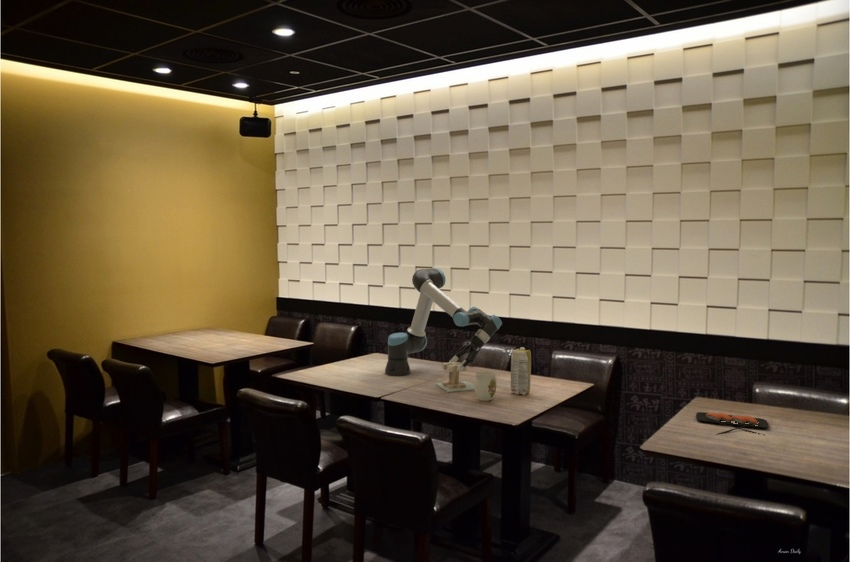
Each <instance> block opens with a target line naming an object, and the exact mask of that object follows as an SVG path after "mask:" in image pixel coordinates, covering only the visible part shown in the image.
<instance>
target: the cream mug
mask: <svg viewBox="0 0 850 562" xmlns="http://www.w3.org/2000/svg"><path fill="white" fill-rule="evenodd" d="M474 374H475V380H474V382H473V383H474V384H473V385H474V389H475V390H474V393H475V396H476V398H477V399H478V401H481V400H482V401H483V402H489V400H490V401H492V399H493V398H494V397H495V394H496V390H497V376H496V375H497V374H496V372H493V371H487V370H486V371H485V370H484V371H483V370H482V371H475V373H474Z"/></svg>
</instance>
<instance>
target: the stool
mask: <svg viewBox="0 0 850 562" xmlns="http://www.w3.org/2000/svg"><path fill="white" fill-rule="evenodd" d="M461 363H462V362H460V361H456V362H442V363H441V368H442V370H445V372H448V376H449V377H448V381H441V383H442V385H443V386H445V387H447V388H448V389H454V388H466V384H464V383H462V382H460V372H459V371H458V370H457V368H458V367H459V366H460V365H461ZM467 367H468V365H467V366H466V367H465V368H464V369H463V370H462V371H461V372H467Z"/></svg>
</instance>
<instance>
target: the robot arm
mask: <svg viewBox="0 0 850 562" xmlns="http://www.w3.org/2000/svg"><path fill="white" fill-rule="evenodd" d="M411 281H412V285H413V287H414V288H415V290H416V291H418V293H419V296H418V300H417V305H416V308H415V310H414V315H413V318H412V321H411V325H410V326H409V327H408V328H407V330H406V332H395V333H392V334H389V336H388V337H387V338H388V339H387V362H386V365H385V368H384V374H385V375H387V374H388V376H393V375H394V376H396V377H401V376H408V375H411V367H410V364H409V361H408V358H409V357H408V356H409V354H413V353H419V352H422V351H423V350H425V348H426V347H427V344H428V338H427V336H426V335H427V334H426V331H425V330H426V327H427V324H428V323H427V322H428V319H429V317H430V313H431V309H432V306H433V303H434V304H435V305H437V306H438V307H440V309H442V310H443V311H444V312H445V313H446V314H448V315H449V316H450V317H452V319H453V322H454V324H455V325H456V326H458V327H465V326H470V325H478V327H480V328H479V329H477V331H476V332H475V334H474V335H473V336H471V338H470V339H469V340H470V343H469V342H466V343H465V344H464V345H463V346H461V347H460V348H459V349H458V350H456V351H455V352H454V356H453V357H452V358H451V359H450V360H449V362H458V360H459V359H460V357H462V356H464V355H465V354H467V356H466V358H465V359H464V360H463V361H462V362H461V365H460V366H459V367H458V368H457V370H458V371H459V373H461V372H463V371H462V370H463V369H464V368H465V367H466V366H467V367H468V365H469V364H472V363H474V361H475V359H476V357H477V355H478V353H479V352H480V351H481V349H482V348H483V347H484V345H485V344H486V343H487V342H489V340H490V339H491V338H492V336H494V334H495V333H496V332H497V331H499V329H500V327H501V326H502V325H503V322H502V320H501V318H499V316H497V315H495V314H492V315H490V316H489V315H488V314H487V313H485V312H484V311H483V310H482V309H480V308H478V307H476V306H472V307H470V308H469V309H468V310H467V311H466V310H465V308H463V307H461V306H460V305H459V304H458V303H457V302H456V301H454V300H453V299H452V298H451V297H449V296H448V295H447V294H446V293H445V292H444V291H442V290H441V289H442V288H443V287H444V286H445V285H446V275H445V273H444V272H443V270H442V269H439V268H434V267H433V268H421V269H418V270H416V271H415V272H414V273H413V275H412V280H411Z"/></svg>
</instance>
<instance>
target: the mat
mask: <svg viewBox="0 0 850 562" xmlns="http://www.w3.org/2000/svg"><path fill="white" fill-rule="evenodd" d="M459 381H460V380H459ZM460 382H462V383H464V384H466V388H454V389H448V388H447V387H445V386H443V385H442V382H437V383H436V382H435V385H436V386H437V385H438V386H437V387H439V388H440V387H441V390H443V389H444V391H445V390H446V391H445V392H447V393H454V392H453V391H459V392H469V391H468V390H472V391H475V389H474V384H472V383H471V382H469V381H467V380H464V381H460Z"/></svg>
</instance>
